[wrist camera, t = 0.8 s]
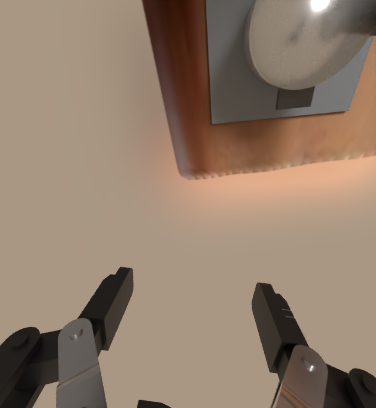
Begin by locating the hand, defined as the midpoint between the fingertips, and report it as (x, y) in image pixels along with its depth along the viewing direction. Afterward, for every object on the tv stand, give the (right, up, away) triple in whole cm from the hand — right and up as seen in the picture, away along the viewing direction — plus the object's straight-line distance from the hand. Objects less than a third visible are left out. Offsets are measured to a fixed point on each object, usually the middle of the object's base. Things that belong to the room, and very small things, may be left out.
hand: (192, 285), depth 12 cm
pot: (+14, +29, +14) cm, 35 cm away
